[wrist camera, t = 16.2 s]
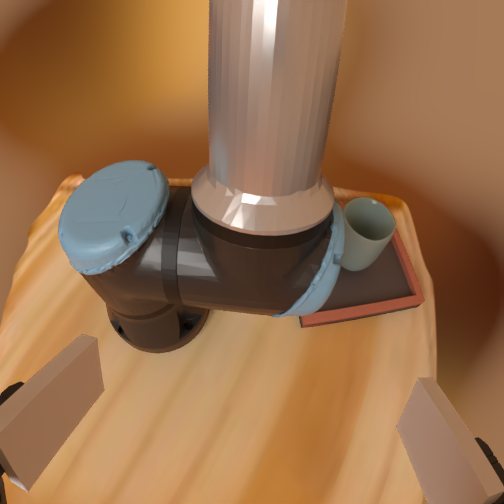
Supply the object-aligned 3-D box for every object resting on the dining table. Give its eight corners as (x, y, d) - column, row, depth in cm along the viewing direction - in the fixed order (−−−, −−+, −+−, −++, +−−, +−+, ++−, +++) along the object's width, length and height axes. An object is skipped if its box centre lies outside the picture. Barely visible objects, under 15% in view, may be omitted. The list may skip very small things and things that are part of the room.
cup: (316, 251, 49) (331, 210, 40) (349, 229, 51) (367, 189, 43) (349, 287, 46) (372, 251, 37) (381, 262, 48) (406, 225, 40)
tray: (277, 216, 54) (278, 207, 52) (379, 210, 56) (384, 201, 54) (301, 328, 43) (304, 322, 41) (417, 306, 45) (424, 300, 43)
